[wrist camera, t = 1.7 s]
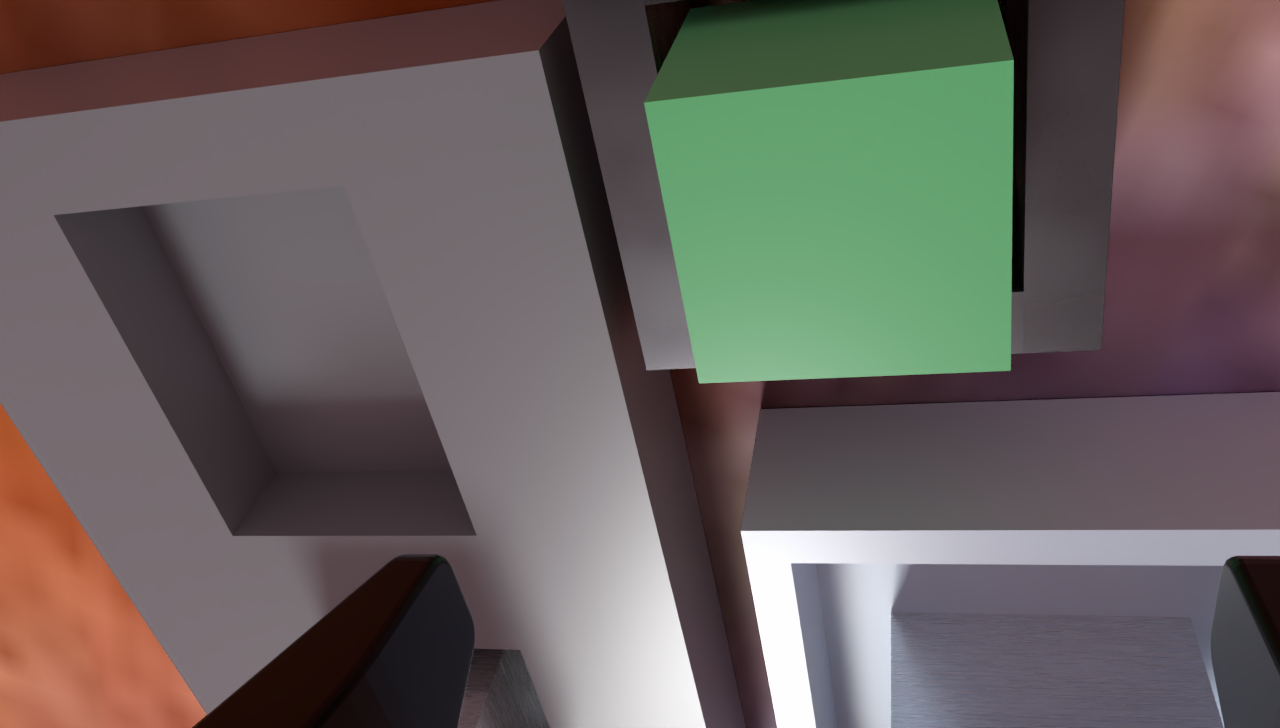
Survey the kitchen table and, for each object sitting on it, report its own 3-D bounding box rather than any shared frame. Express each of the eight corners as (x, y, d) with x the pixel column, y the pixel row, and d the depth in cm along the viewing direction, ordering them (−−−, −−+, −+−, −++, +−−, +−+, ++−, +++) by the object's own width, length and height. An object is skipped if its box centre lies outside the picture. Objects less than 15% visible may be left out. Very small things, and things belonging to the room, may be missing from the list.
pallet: (-47, 80, 20) (-172, 144, 18) (588, -13, 17) (539, 51, 14) (343, 762, 32) (300, 854, 30) (759, 789, 29) (747, 895, 26)
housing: (1093, -204, 14) (1136, -166, 12) (1072, 250, 18) (1100, 349, 15) (598, -118, 16) (546, -69, 13) (675, 277, 20) (647, 370, 17)
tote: (1357, 389, 18) (1441, 529, 16) (1247, 850, 26) (1289, 996, 24) (760, 408, 21) (740, 531, 18) (825, 820, 29) (818, 948, 26)
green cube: (987, -33, 14) (1013, 60, 11) (989, 236, 16) (1010, 370, 13) (690, 8, 15) (643, 102, 12) (729, 255, 17) (699, 383, 14)
